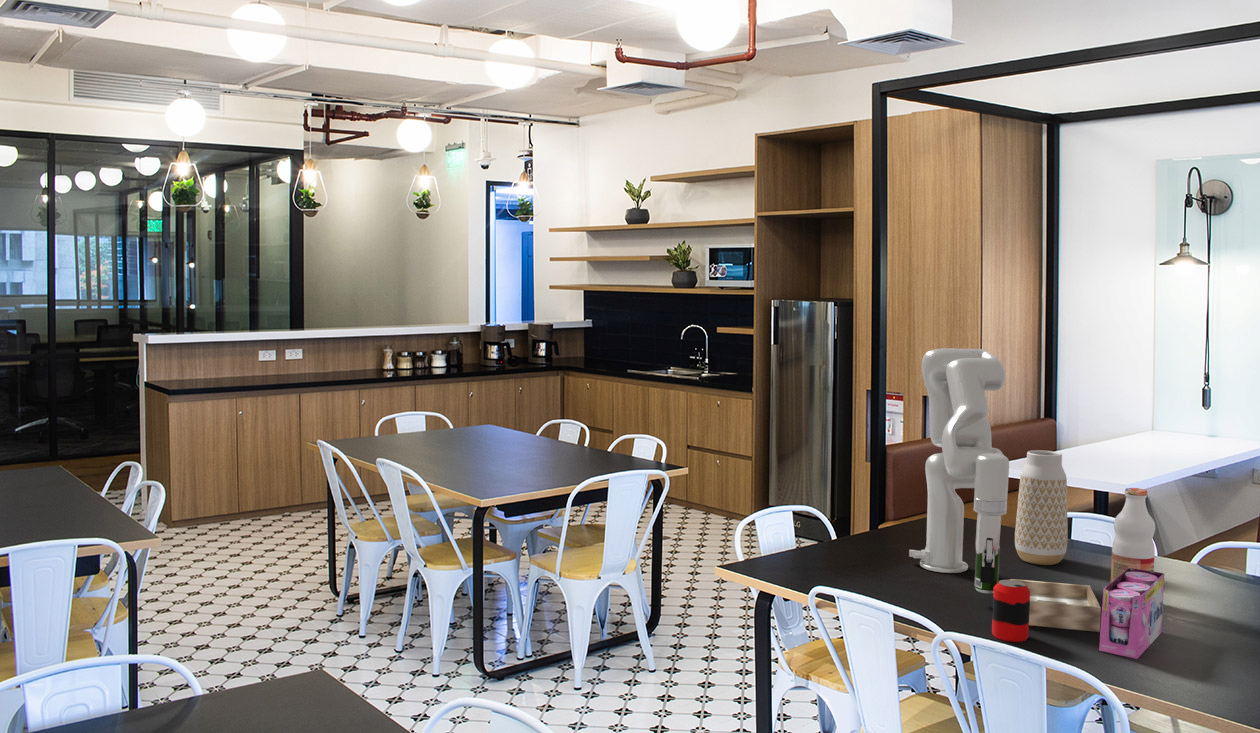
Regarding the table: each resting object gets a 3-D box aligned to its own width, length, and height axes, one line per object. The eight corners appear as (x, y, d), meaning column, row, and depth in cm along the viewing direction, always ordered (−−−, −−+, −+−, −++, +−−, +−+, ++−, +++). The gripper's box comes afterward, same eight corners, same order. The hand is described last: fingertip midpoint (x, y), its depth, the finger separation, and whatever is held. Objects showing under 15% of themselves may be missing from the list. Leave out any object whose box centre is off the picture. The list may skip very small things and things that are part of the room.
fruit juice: (1107, 594, 262) (1112, 484, 259) (1148, 598, 259) (1154, 487, 257) (1112, 605, 253) (1117, 491, 251) (1155, 609, 250) (1161, 494, 248)
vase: (1076, 562, 292) (1081, 454, 289) (1047, 570, 284) (1051, 458, 281) (1033, 551, 303) (1037, 447, 300) (1003, 558, 295) (1007, 451, 293)
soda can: (1009, 644, 225) (1011, 589, 224) (984, 633, 232) (986, 580, 231) (1035, 639, 228) (1038, 586, 227) (1010, 629, 235) (1012, 577, 234)
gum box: (1136, 662, 215) (1140, 597, 214) (1096, 653, 220) (1099, 590, 219) (1162, 632, 234) (1165, 572, 233) (1124, 624, 239) (1127, 566, 238)
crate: (1014, 623, 239) (1015, 600, 238) (1009, 600, 256) (1010, 578, 255) (1099, 631, 234) (1100, 607, 233) (1089, 608, 251) (1089, 585, 250)
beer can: (988, 595, 248) (990, 546, 247) (969, 588, 253) (971, 540, 251) (1002, 591, 251) (1005, 542, 250) (983, 585, 256) (986, 537, 254)
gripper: (972, 496, 259) (969, 566, 261) (974, 513, 242) (971, 588, 245) (1004, 498, 257) (1001, 569, 259) (1009, 515, 240) (1004, 591, 243)
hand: (986, 578), depth 252 cm, fingers closed on beer can, 5 cm apart
